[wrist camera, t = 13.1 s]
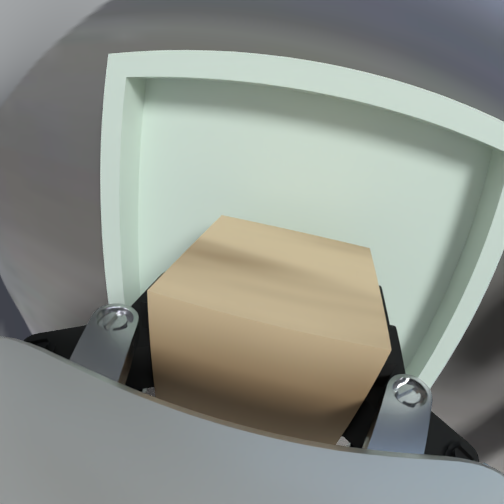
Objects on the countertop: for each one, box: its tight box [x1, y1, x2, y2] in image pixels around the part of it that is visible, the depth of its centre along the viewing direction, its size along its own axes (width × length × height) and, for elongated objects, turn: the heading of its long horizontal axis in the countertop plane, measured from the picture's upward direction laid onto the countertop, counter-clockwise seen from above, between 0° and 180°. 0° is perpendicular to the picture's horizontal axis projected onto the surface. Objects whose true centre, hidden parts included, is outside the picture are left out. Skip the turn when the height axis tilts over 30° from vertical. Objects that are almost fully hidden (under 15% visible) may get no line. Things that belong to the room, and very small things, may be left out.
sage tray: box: [100, 50, 504, 389], centre depth 13 cm, size 16×16×2 cm
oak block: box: [147, 215, 391, 445], centre depth 9 cm, size 5×5×5 cm
